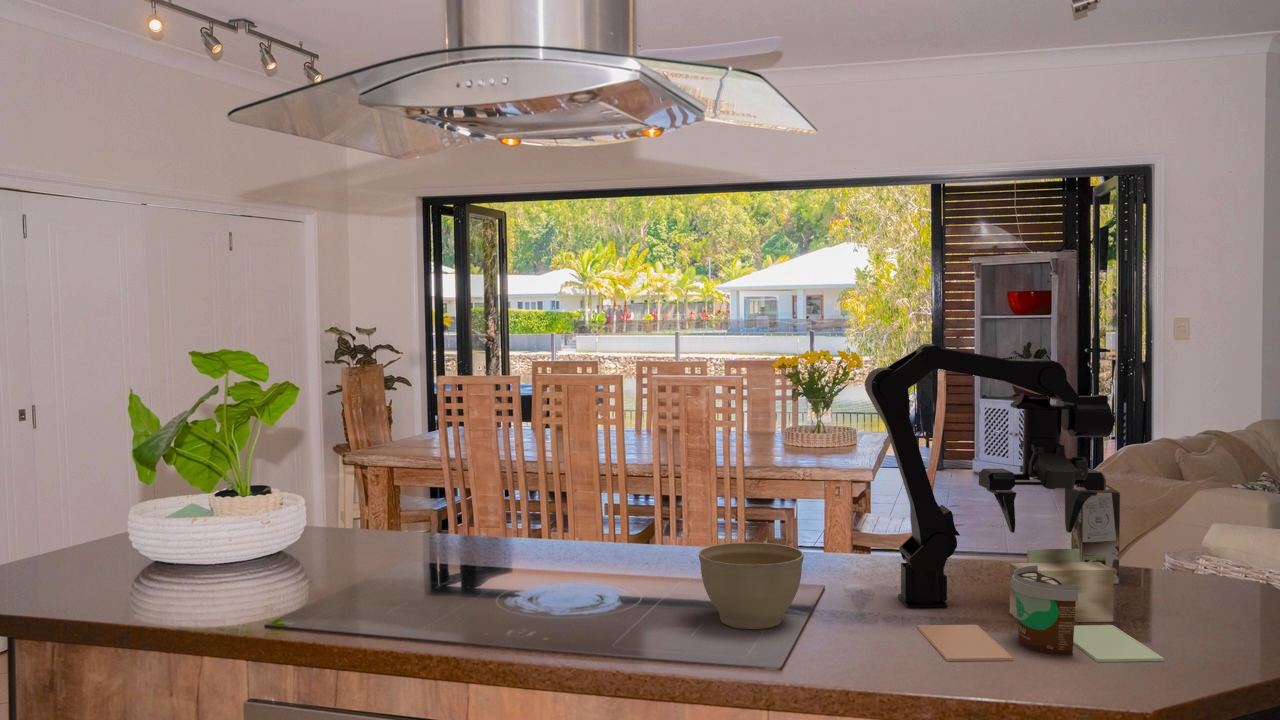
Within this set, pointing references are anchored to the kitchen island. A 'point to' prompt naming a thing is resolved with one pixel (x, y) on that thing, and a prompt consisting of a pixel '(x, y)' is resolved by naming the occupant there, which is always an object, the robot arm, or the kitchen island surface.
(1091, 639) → the sage bay
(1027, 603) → the food container
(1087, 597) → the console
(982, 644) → the plate
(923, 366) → the robot arm
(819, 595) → the kitchen island surface
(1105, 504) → the coffee box
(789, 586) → the planter bowl
